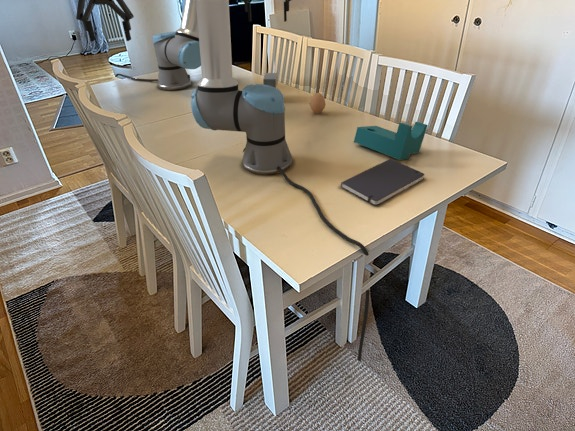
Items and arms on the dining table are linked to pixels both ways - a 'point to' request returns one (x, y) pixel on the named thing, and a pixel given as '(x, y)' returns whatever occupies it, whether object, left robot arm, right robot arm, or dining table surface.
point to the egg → (317, 103)
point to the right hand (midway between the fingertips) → (267, 21)
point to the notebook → (382, 181)
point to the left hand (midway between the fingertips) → (111, 40)
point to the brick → (271, 79)
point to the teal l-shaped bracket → (392, 139)
